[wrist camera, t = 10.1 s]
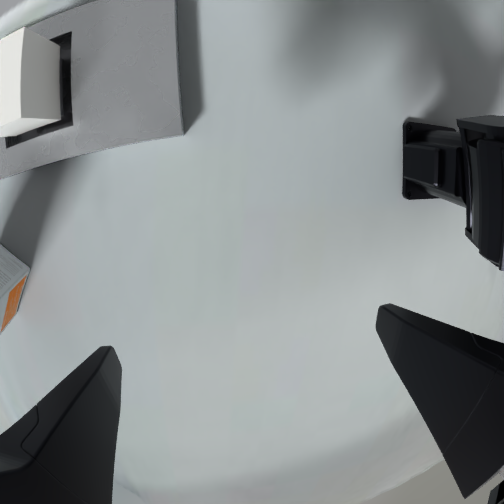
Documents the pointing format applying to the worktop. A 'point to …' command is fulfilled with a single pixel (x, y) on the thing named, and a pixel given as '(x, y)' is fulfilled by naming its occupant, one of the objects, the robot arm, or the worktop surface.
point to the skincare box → (10, 285)
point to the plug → (29, 82)
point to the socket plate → (106, 82)
